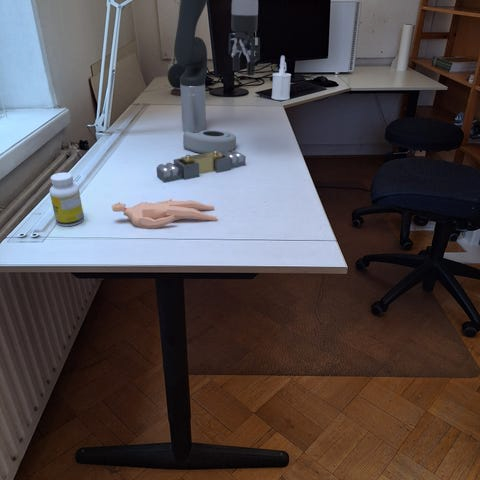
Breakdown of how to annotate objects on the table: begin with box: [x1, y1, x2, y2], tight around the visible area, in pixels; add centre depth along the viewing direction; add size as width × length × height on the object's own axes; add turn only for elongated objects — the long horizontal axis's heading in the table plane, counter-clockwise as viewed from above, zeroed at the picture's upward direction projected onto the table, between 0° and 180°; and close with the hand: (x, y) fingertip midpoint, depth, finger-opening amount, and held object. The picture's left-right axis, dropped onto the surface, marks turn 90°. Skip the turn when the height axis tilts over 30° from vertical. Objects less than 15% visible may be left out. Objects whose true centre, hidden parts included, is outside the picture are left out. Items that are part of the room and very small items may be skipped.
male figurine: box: [111, 198, 218, 229], centre depth 108 cm, size 11×5×25 cm
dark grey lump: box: [167, 62, 187, 97], centre depth 227 cm, size 13×13×15 cm
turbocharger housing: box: [182, 129, 237, 154], centre depth 154 cm, size 17×6×15 cm
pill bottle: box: [49, 172, 85, 227], centre depth 104 cm, size 6×6×12 cm
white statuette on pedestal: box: [271, 55, 292, 101], centre depth 219 cm, size 10×9×20 cm
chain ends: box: [156, 149, 246, 183], centre depth 135 cm, size 7×28×4 cm, turn 122°
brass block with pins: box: [181, 151, 223, 175], centre depth 135 cm, size 4×12×6 cm, turn 117°
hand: (243, 72), depth 134 cm, fingers open, 8 cm apart
